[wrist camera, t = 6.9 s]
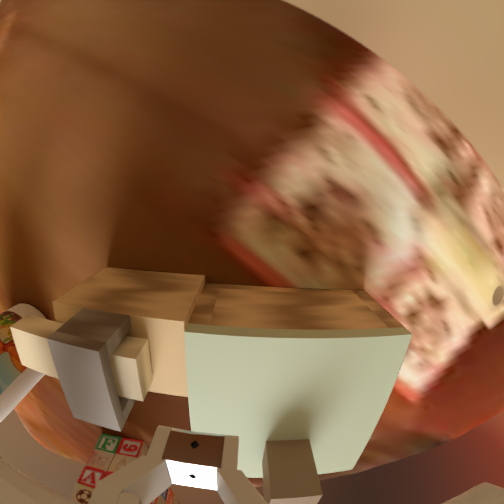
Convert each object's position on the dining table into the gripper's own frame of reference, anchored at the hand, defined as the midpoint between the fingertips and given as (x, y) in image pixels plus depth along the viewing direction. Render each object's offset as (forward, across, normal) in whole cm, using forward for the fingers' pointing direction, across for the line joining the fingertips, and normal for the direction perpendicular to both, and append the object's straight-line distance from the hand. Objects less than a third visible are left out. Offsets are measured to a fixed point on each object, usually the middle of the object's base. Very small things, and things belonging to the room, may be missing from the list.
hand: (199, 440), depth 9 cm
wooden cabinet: (+14, 0, +5) cm, 15 cm away
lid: (+7, -5, +5) cm, 10 cm away
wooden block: (+5, +8, +1) cm, 10 cm away
